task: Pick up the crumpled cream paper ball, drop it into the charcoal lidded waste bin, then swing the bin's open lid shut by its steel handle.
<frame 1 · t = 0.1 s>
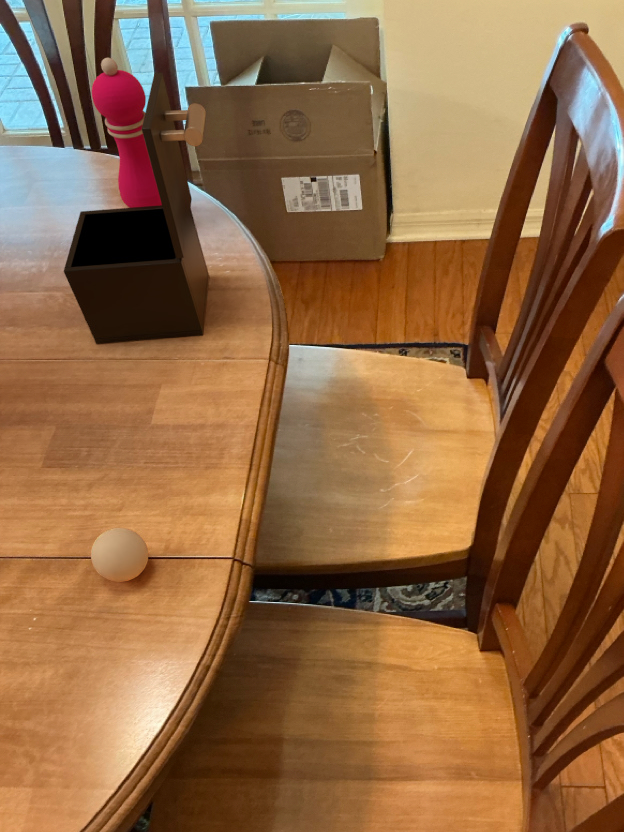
waste bin: (154, 308, 92), on the table
paper ball: (128, 569, 70), on the table
bin lid: (189, 167, 79), point 17 cm above the table, hinge at 92.0°
pepper mill: (158, 222, 103), on the table
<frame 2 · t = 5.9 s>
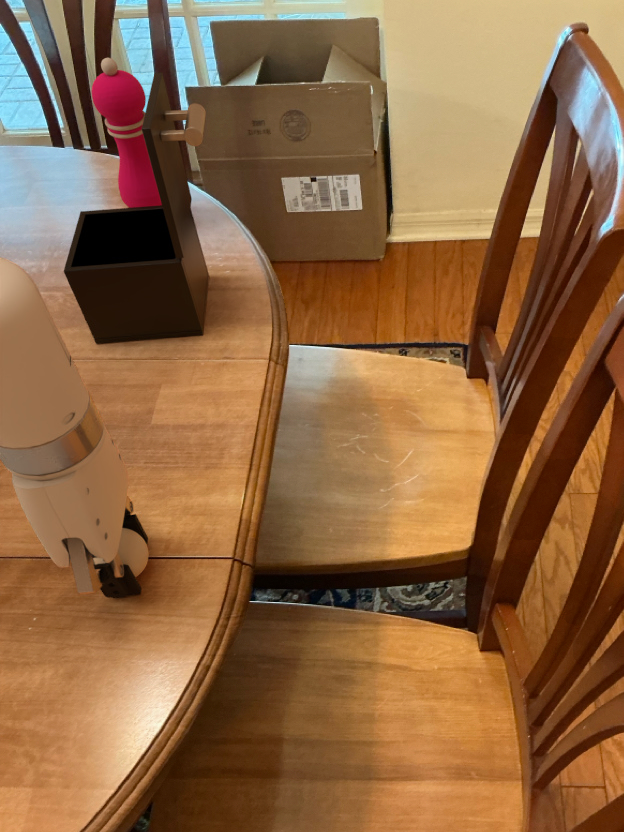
hand: (127, 567, 70), 0 cm above the table, tool pointing down, fingers closed on paper ball, 4 cm apart
paper ball: (128, 569, 70), on the table, touching gripper
everything else where it was.
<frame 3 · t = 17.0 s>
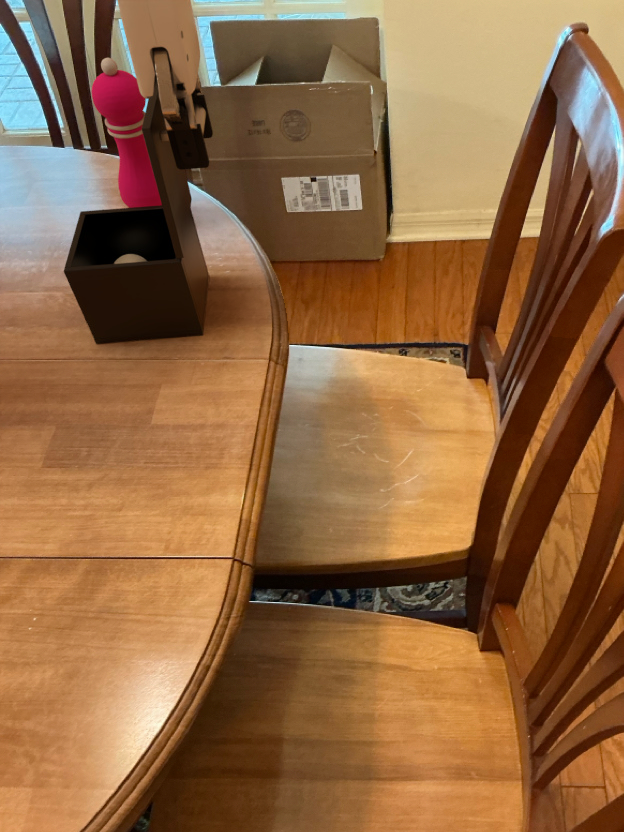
hand: (195, 150, 78), 18 cm above the table, tool pointing down, fingers closed on bin lid, 5 cm apart
paper ball: (133, 294, 91), point 2 cm above the table, tilted 60°, touching waste bin
bin lid: (189, 167, 79), point 17 cm above the table, hinge at 92.0°, touching gripper
everything else where it was.
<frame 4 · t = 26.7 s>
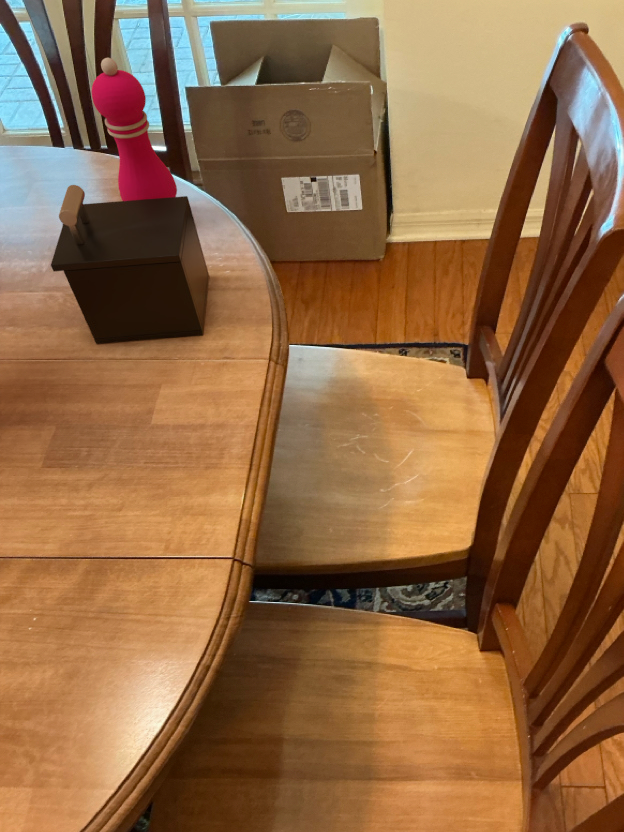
paper ball: (134, 296, 91), point 2 cm above the table, tilted 55°, touching waste bin
bin lid: (116, 215, 82), point 12 cm above the table, hinge at 0.0°
everything else where it was.
at the end: paper ball inside the target area in the waste bin (1.9 cm from its centre), point 1.7 cm above the waste bin's base; bin lid at +0° (first picture: +92°) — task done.
